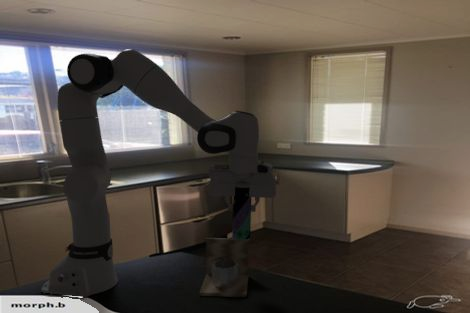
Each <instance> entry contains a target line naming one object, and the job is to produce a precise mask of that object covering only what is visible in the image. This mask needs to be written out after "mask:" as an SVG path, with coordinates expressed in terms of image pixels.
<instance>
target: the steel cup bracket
mask: <svg viewBox="0 0 470 313" xmlns="http://www.w3.org/2000/svg"><path fill="white" fill-rule="evenodd" d="M212 284H213V285H214V286H215V287H218V288H223V289H228V288H232V287H235V286H236V285H238V263H237V262H236V261H235V260H231V259H230V257H224V259H221V260H217V261H215V262H213V264H212Z"/></svg>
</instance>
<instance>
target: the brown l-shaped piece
mask: <svg viewBox="0 0 470 313" xmlns="http://www.w3.org/2000/svg"><path fill="white" fill-rule="evenodd" d="M205 251H206V252H205V254H206V255H205V257H206V258H205V261H206V262H205V263H206V264H205V265H206V274H205V277H204V279H203V282H202V285H201V286H200V290H199V293H198V295H199V297H200V296H203V297H227V298H228V297H229V298H231V297H232V298H247V294H248V285H249V274H250V273H249V241H247V242H237V241H234V240H233V239H232V237H230V238H229V237H228V238H227V237H226V238H225V237H222V238H221V237H217V238H216V237H206V238H205ZM224 257H230V259H231V260H235V261H236V262H237V263H238V285H236V286H235V287H232V288H228V289H223V288H218V287H215V286H214V285H213V284H212V264H213V262H215V261H217V260H221V259H224Z"/></svg>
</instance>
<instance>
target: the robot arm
mask: <svg viewBox="0 0 470 313" xmlns="http://www.w3.org/2000/svg"><path fill="white" fill-rule="evenodd" d="M66 68H67V69H66V72H67V73H66V74H67V77H68V80H69V81H70V82H66V83H64V84H62V85H61V86H60V87H59V89H58V91H57V115H58V121H59V122H58V123H59V127H60V128H59V129H60V134H61V139H62V145H63V148H64V150H65V152H66V154H67V157H68V159H69V161H70V164H71V171H70V172H68V174H67V175H66V176H65V179H64V180H63V183H62V190H63V193H64V196H65V198H66V201H67V207H68V210H69V213H70V219H71V227H72V243H70V244H68V246H66V247H65V248H64V249H65V252H67V251H68V254H67V255H66V256H65V257H63V258H62V259H60V261H59V262H58V263H57V264H55V265H54V266H53V268H52V269H51V271H50V273H49V279H48V280H47V281H46V282H44V284H43V285H42V287H41V290H40V291H41V292H43V293H42V294H45V293H50V294H49V295H52V294H61V295H72V296H83V297H85V298H86V297H89V296H92V295H96V294H100V293H103V292H105V291H108V290H110V289H112V288H113V287H115V286H116V285H117V283H118V282H119V279H118V276H117V273H116V269H115V266H114V261H113V260H114V259H113V256H114V247H113V246H114V245H113V239H112V237H111V235H112V234H111V218H110V213H109V208H108V204H107V196H106V195H107V194H106V191H107V189H108V188H109V187H110V184H111V181H112V174H111V171H110V166H109V162H108V158H107V157H108V156H107V154H106V151H105V148H104V143H103V138H102V133H101V126H100V120H99V113H98V108H97V102H98V100H99V98H100V99H104V98H106V97H108V96H110V95H113V94H115V93H117V92H119V91H120V90H121V89H123V88H124V87H125V88H127V90H129V91H130V92H132V94H133V95H135V96H136V97H137V98H138V99H139V100H141V101H143V102H144V103H146V104H147V105H149V106H151V107H152V108H154V109H156V110H161V111H163V112H164V111H165V112H167V113H169V114H171V115H174V116H176V117H177V118H179V119H180V120H182V121H183V122H184V123H185V124H186V125H188V127H191V129H192V130H194V131H195V132H196V133H197V135H196V136H197V137H196V139H197V145H198V146H199V148H200V149H201V150H202V151H203V152H205V153H207V154H210V155H218V154H221V153H226V152H227V153H228V164H213V165H211V166H210V167H209V168H208V178H209V179H210V180H209V185H208V186H209V187H208V193H209V194H210V195H211V196H220V197H224V201H225V202H226V204H227V211H231V212H233V203H231V201H230V198H231V197H233V196H235V185H236V184H235V183H237V182H238V181H246V182H248V183H250V184H249V186H250V189H249V197H251V198H254V201H255V202H254V204H251V213H255V212H256V208H257V205H258V204H259V202H260V200H261V198H263V199H264V198H267V199H274V198H275V197H276V196H277V186H276V179H275V174H273V171H274V170H273V165H272V164H271V163H269V162H265V161H261V160H259V151H258V146H259V141H260V140H259V138H260V137H259V136H260V130H259V129H260V128H259V120H258V118H257V117H256V115H254V114H253V113H252V112H251V113H250V112H246V111H242V110H232V111H231V112H230V113H228V114H227V115H225V116H223V117H221V118H219V119H213V118H212V117H210V116H209V115H208V114H206V113H205V112H204V111H203V110H201V109H200V108H199V107H198V106H197V105H196V104H194V103H193V102H192V101H191V100H190V99H189V98H188V97H187V96H186V95H185V94H184V92H183V91H182V90H181V89H180V87H179V86H178V84H177V83H176V82H175V80H173V79H172V77H171V76H170V75H169V74H168V73H167V72H166V71H165V70H164V68H162V67H161V66H160V65H158V64H157V63H156V62H155V61H153V60H152V59H150V58H149V57H148V56H146V55H145V54H142V53H141V52H139V51H137V50H136V49H133V48H127V49H124V50H121V51H120V52H119V53H118V54H117V55H116V56H115V57H114V58H113V59H112V58H111V59H110V58H109V57H108V56H105V55H99V54H96V53H89V52H88V53H80V54H76V55H75V56H73V57H72V58H71V59H70V61H69V62H68V64H67V67H66ZM41 292H40V293H41Z"/></svg>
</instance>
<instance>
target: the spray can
mask: <svg viewBox="0 0 470 313" xmlns="http://www.w3.org/2000/svg"><path fill="white" fill-rule="evenodd" d="M235 184H236V185H235V196H232V204H233V211H232V234H231V235H232V236H231V238H232V239H233V240H234V241H237V242H247V241H248V242H249V241H250V240H251V224H252V222H251V221H252V212H251V205H252V197H249V189H250V186H249V184H250V183H248V182H246V181H238V182H237V183H235Z"/></svg>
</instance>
